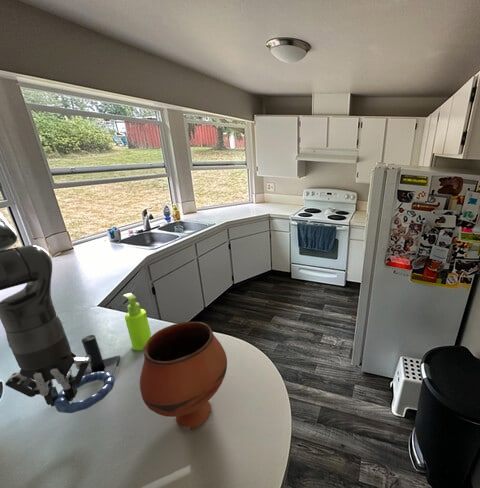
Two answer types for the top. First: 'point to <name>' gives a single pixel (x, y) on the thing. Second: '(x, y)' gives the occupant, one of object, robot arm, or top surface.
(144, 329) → the soap dispenser
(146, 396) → the goblet
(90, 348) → the ring toss peg
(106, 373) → the ring
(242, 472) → the top surface
